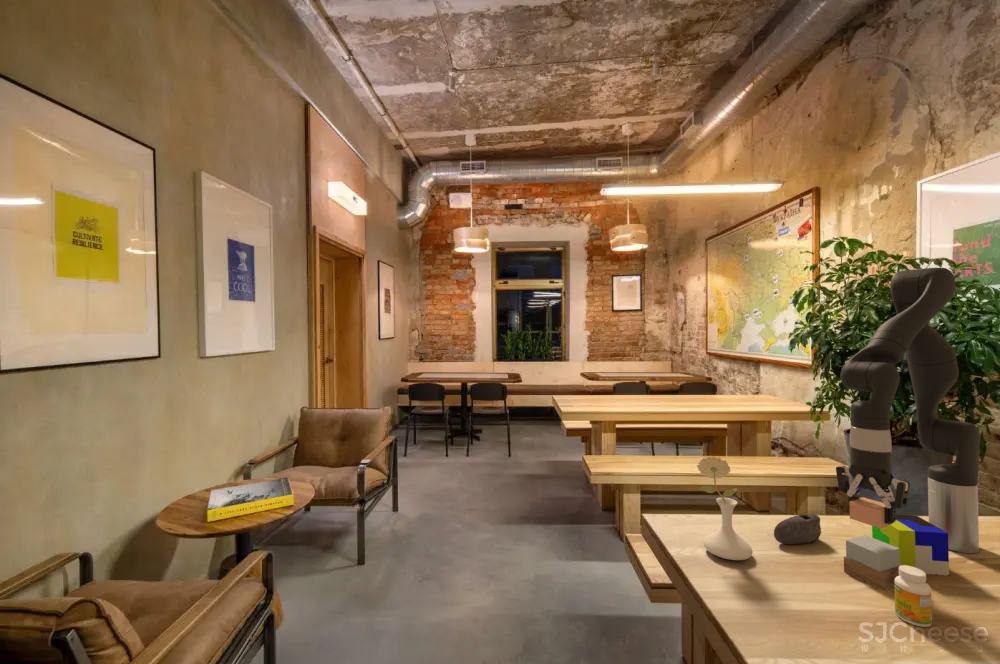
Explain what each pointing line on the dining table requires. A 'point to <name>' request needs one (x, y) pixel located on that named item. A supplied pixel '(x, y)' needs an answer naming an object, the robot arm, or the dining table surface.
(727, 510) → the flower in vase
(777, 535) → the perforated stone tool
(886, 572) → the tower base
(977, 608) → the dining table surface
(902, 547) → the puzzle toy
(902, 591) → the supplement bottle
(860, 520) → the clay block
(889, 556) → the tower top
